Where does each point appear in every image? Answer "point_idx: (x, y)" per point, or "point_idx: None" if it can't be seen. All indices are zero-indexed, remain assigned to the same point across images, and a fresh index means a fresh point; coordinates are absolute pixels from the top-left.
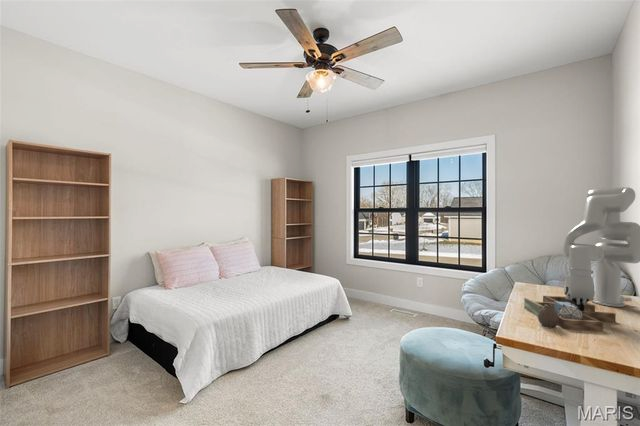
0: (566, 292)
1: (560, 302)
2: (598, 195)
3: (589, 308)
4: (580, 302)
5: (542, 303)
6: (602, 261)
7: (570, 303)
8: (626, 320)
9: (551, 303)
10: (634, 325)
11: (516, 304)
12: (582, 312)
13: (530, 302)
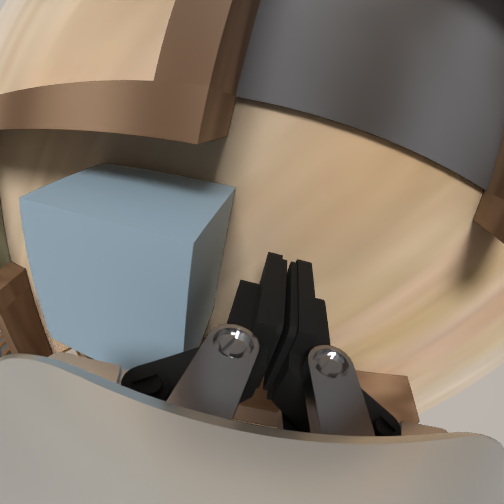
0: (16, 402)
1: (59, 250)
2: None
3: (499, 226)
4: (290, 391)
5: (1, 128)
6: None
7: (166, 313)
8: (480, 364)
9: (50, 128)
10: (418, 413)
11: (4, 21)
12: None
13: None
